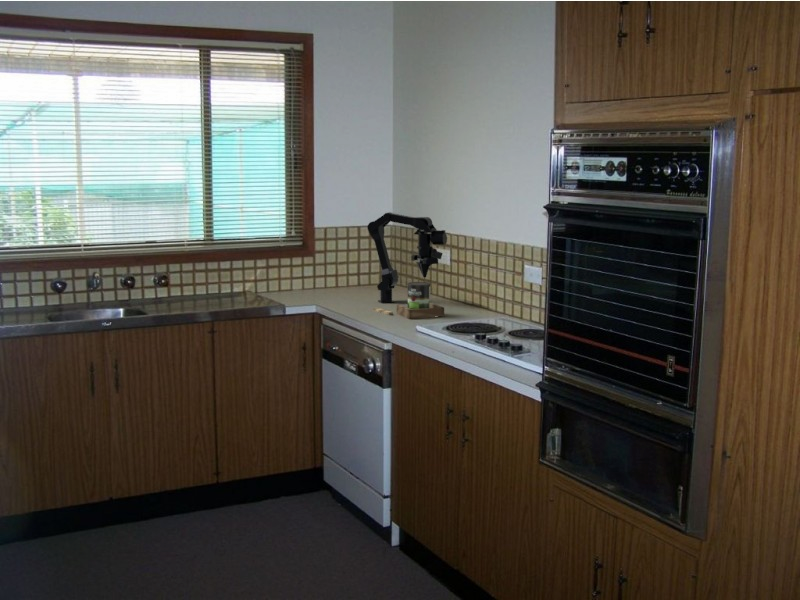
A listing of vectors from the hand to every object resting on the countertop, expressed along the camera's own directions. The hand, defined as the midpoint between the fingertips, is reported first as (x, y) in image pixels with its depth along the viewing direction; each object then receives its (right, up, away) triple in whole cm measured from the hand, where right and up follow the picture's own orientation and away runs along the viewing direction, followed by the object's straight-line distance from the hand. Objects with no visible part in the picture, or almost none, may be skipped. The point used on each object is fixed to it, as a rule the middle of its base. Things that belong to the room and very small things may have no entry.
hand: (424, 277), depth 431 cm
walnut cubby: (-3, -17, -25) cm, 31 cm away
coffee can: (-3, -17, -25) cm, 30 cm away
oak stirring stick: (-19, -17, -19) cm, 32 cm away
